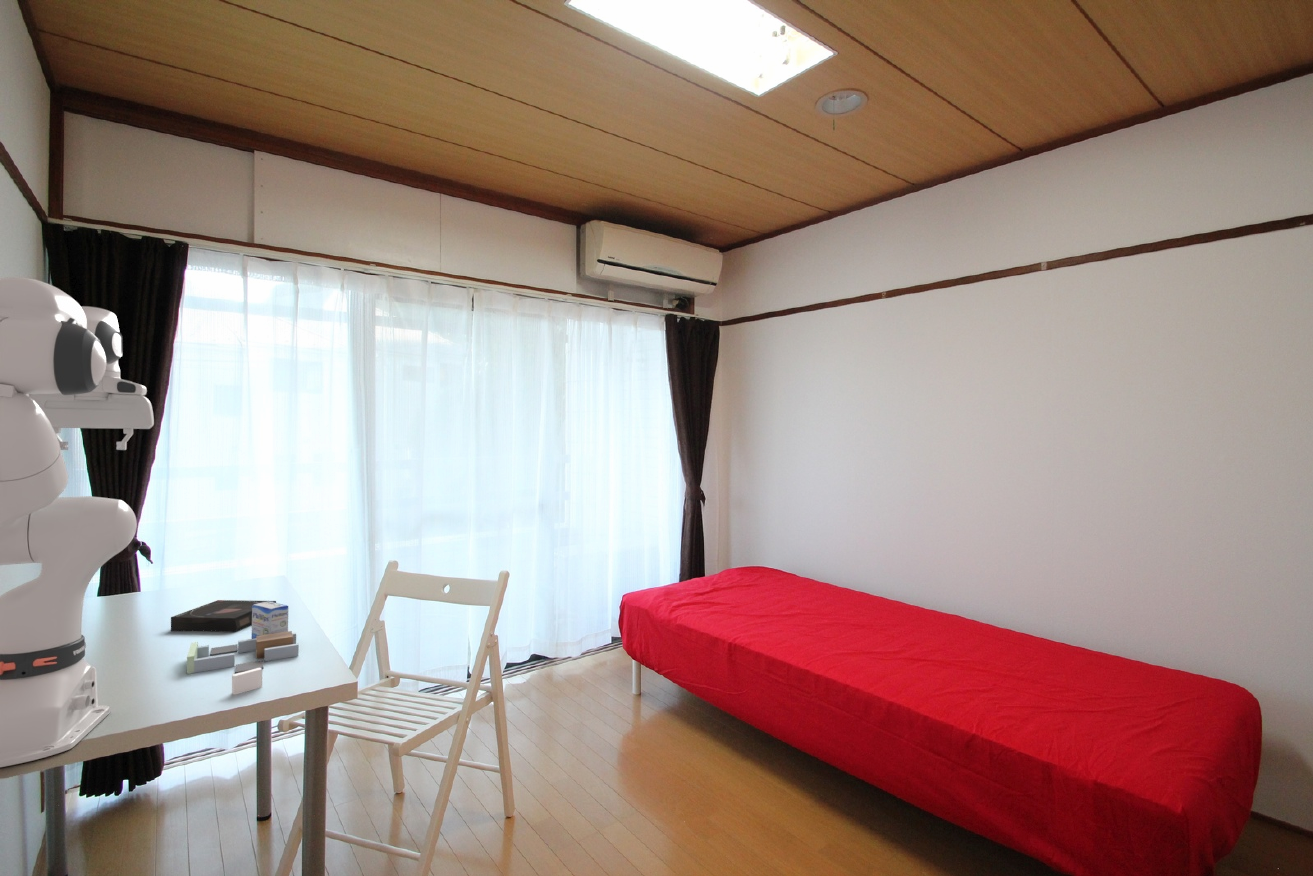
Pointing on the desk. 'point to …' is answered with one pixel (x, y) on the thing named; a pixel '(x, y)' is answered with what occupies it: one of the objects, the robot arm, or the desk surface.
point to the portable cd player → (216, 617)
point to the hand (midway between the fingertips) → (92, 450)
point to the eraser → (246, 681)
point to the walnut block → (272, 642)
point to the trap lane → (202, 661)
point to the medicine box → (269, 618)
